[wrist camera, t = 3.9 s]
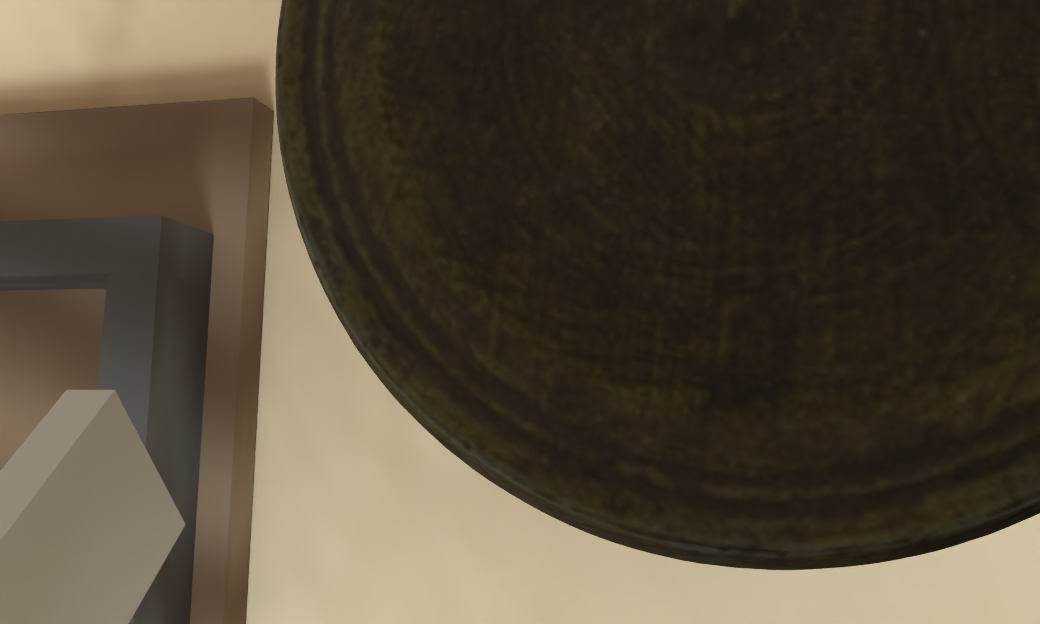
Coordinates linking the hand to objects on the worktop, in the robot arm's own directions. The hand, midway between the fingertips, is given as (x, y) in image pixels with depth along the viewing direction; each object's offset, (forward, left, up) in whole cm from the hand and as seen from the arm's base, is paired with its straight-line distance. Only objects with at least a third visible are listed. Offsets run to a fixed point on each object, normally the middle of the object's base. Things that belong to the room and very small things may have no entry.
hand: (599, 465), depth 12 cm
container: (+2, -3, -13) cm, 14 cm away
